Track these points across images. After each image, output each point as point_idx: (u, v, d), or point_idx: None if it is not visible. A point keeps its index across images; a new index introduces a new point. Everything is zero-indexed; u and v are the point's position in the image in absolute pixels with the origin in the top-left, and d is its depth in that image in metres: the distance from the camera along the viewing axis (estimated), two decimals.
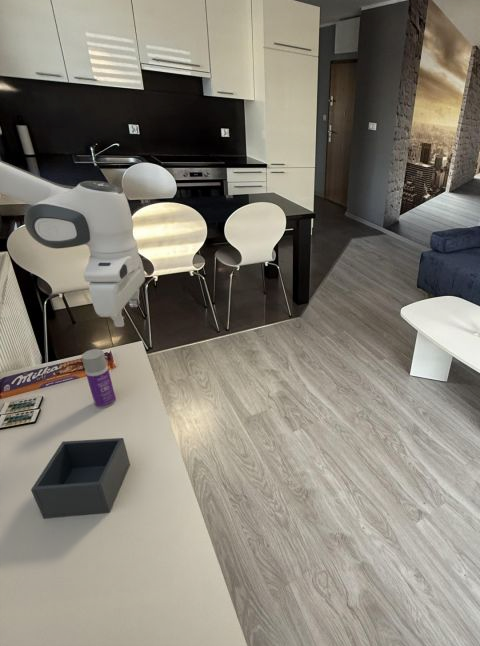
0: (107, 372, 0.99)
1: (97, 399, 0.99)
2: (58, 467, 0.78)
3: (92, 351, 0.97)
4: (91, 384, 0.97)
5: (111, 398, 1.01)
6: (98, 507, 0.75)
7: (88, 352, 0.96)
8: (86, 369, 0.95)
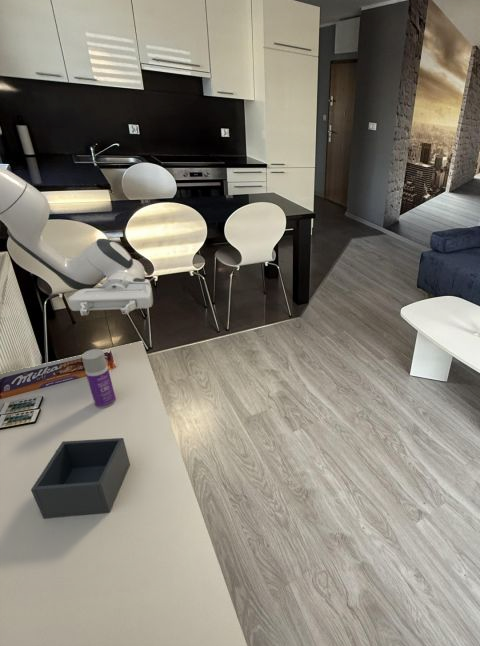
0: (107, 372, 0.99)
1: (97, 399, 0.99)
2: (58, 467, 0.78)
3: (92, 351, 0.97)
4: (91, 384, 0.97)
5: (111, 398, 1.01)
6: (98, 507, 0.75)
7: (88, 352, 0.96)
8: (86, 369, 0.95)
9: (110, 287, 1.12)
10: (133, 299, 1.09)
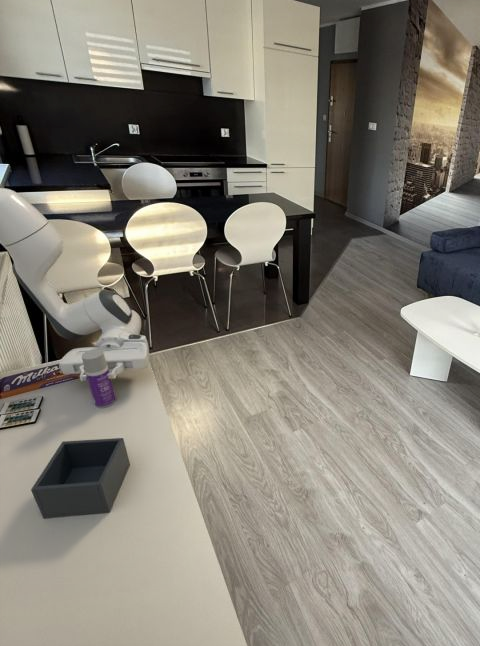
0: (107, 372, 0.99)
1: (97, 399, 0.99)
2: (58, 467, 0.78)
3: (92, 351, 0.97)
4: (91, 384, 0.97)
5: (111, 398, 1.01)
6: (98, 507, 0.75)
7: (88, 352, 0.96)
8: (86, 369, 0.95)
9: (104, 346, 1.06)
10: (128, 360, 1.03)
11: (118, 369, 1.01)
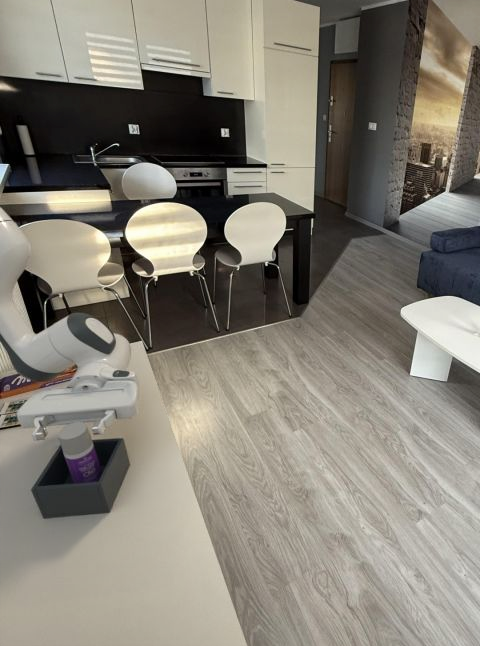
0: (92, 451, 0.76)
1: None
2: (58, 467, 0.78)
3: (73, 426, 0.74)
4: (71, 468, 0.74)
5: None
6: (98, 507, 0.75)
7: (67, 427, 0.74)
8: (64, 451, 0.73)
9: (80, 388, 0.80)
10: (111, 408, 0.77)
11: (107, 420, 0.76)
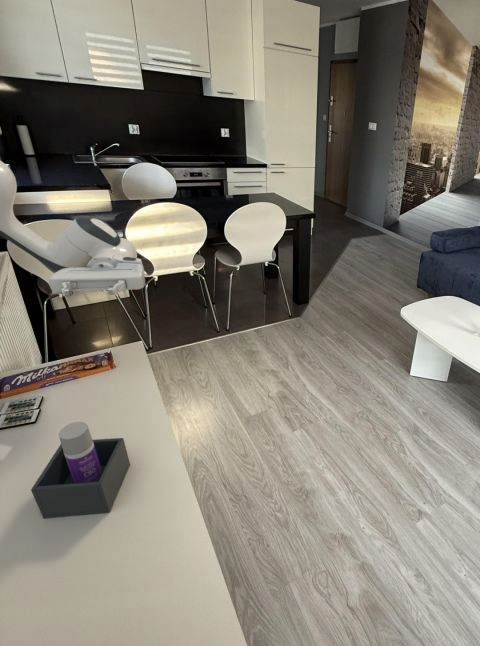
0: (93, 451, 0.76)
1: None
2: (58, 467, 0.78)
3: (74, 426, 0.74)
4: (71, 468, 0.74)
5: None
6: (98, 507, 0.75)
7: (68, 427, 0.74)
8: (64, 450, 0.73)
9: (97, 266, 1.00)
10: (122, 279, 0.97)
11: (120, 286, 0.95)
